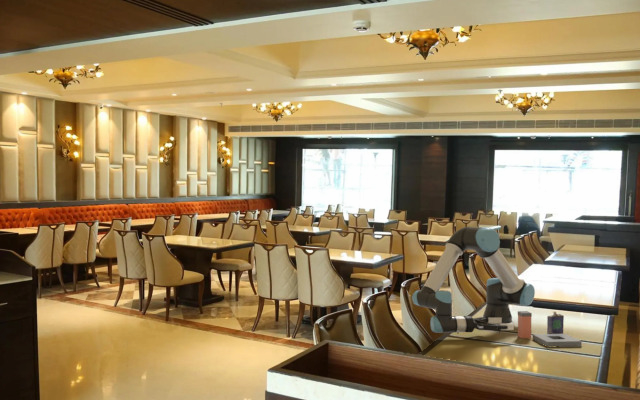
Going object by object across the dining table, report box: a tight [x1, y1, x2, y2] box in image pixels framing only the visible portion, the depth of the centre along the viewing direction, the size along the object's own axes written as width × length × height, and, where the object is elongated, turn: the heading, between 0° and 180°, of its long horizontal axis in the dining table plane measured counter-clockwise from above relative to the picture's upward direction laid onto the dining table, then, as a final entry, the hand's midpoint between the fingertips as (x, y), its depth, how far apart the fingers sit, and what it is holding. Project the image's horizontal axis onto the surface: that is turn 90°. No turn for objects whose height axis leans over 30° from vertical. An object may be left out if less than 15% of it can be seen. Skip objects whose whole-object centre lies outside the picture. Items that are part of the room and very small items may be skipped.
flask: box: [546, 311, 565, 334], centre depth 274 cm, size 9×3×11 cm, turn 109°
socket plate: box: [532, 333, 583, 348], centre depth 256 cm, size 14×16×2 cm
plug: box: [517, 310, 533, 339], centre depth 266 cm, size 5×5×12 cm
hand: (507, 323), depth 265 cm, fingers open, 13 cm apart
